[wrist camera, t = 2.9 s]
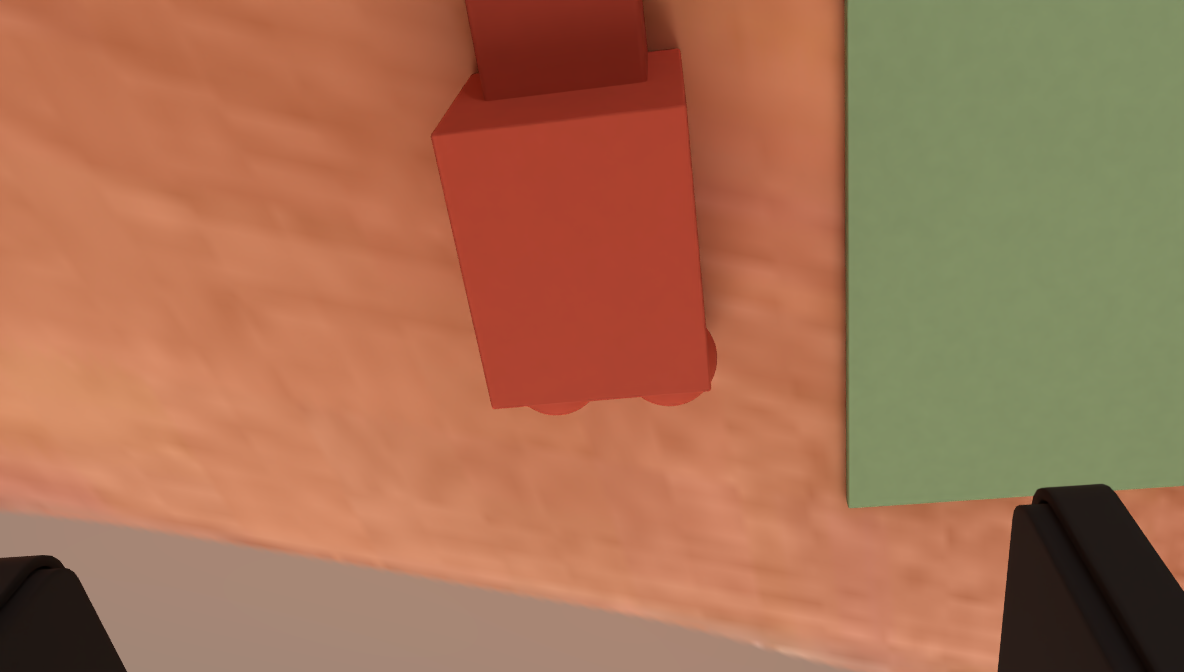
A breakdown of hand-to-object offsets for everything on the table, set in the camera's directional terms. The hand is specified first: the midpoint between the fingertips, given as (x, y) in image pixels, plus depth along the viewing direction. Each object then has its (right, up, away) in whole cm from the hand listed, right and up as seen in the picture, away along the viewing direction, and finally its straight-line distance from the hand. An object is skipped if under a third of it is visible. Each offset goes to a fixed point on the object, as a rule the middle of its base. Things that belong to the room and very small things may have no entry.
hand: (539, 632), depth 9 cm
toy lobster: (0, +6, +10) cm, 11 cm away
